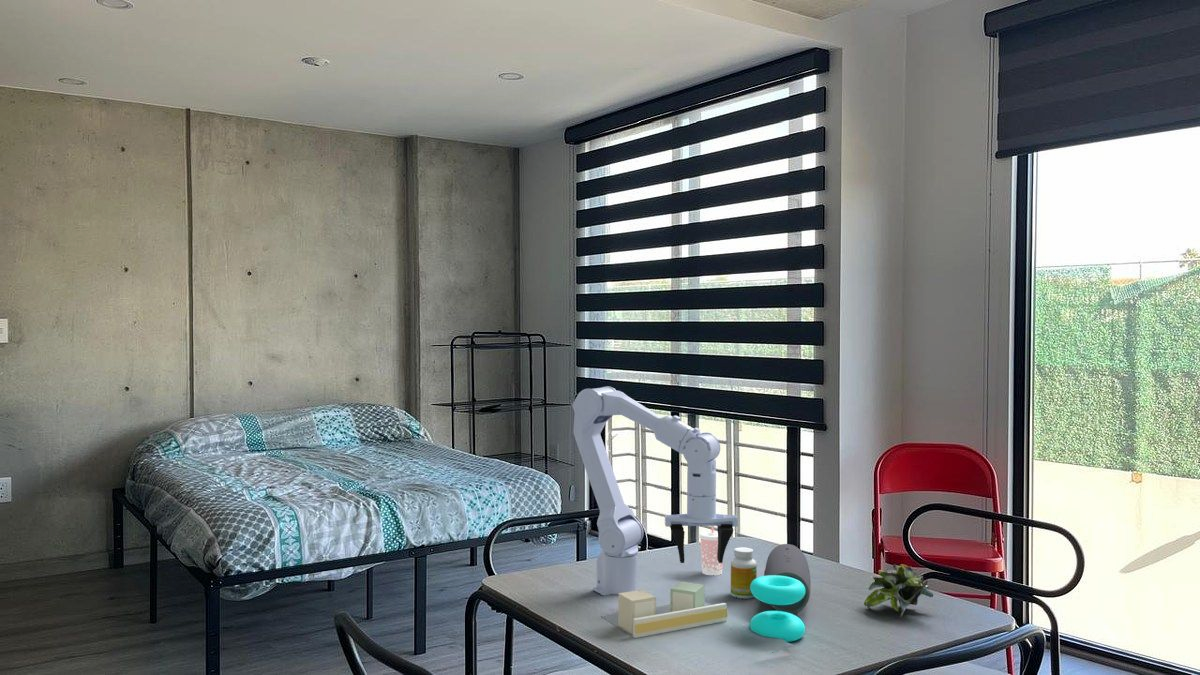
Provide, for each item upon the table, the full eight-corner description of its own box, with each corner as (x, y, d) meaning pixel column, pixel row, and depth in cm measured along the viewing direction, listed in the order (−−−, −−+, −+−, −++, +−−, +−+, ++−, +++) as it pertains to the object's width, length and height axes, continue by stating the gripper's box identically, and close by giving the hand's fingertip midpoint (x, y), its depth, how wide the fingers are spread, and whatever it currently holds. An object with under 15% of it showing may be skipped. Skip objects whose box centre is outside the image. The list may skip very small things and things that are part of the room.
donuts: (769, 570, 169) (815, 580, 162) (768, 622, 169) (815, 634, 162) (739, 581, 161) (787, 592, 155) (739, 635, 162) (786, 649, 155)
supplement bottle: (756, 600, 182) (756, 553, 182) (729, 598, 183) (730, 551, 183) (756, 592, 188) (757, 547, 187) (731, 590, 189) (731, 545, 189)
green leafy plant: (902, 633, 179) (937, 586, 179) (907, 641, 168) (944, 591, 168) (855, 597, 182) (889, 550, 182) (857, 603, 171) (893, 553, 171)
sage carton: (679, 612, 170) (680, 581, 170) (704, 616, 168) (704, 585, 168) (670, 620, 166) (670, 588, 166) (694, 624, 164) (695, 592, 164)
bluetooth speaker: (764, 585, 193) (765, 540, 193) (808, 588, 191) (808, 542, 191) (762, 619, 171) (763, 567, 170) (811, 622, 169) (812, 570, 169)
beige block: (618, 625, 163) (618, 593, 163) (641, 621, 165) (641, 589, 165) (632, 634, 158) (632, 601, 158) (655, 629, 160) (656, 597, 160)
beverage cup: (727, 576, 199) (727, 515, 199) (700, 576, 199) (700, 514, 199) (723, 569, 205) (724, 509, 205) (697, 568, 205) (698, 509, 205)
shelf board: (600, 622, 168) (600, 599, 168) (688, 607, 177) (688, 585, 177) (635, 645, 156) (635, 620, 156) (727, 627, 165) (727, 604, 165)
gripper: (733, 490, 181) (733, 556, 181) (663, 490, 180) (662, 556, 180) (740, 497, 174) (739, 565, 174) (667, 497, 173) (666, 565, 173)
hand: (700, 561), depth 177 cm, fingers open, 7 cm apart
